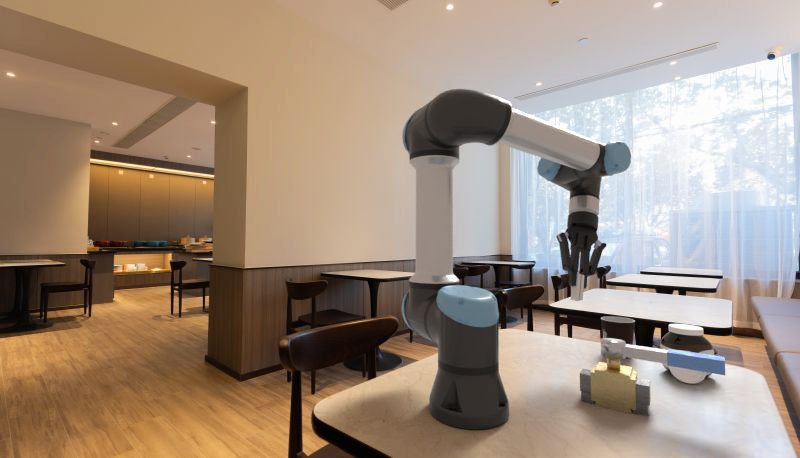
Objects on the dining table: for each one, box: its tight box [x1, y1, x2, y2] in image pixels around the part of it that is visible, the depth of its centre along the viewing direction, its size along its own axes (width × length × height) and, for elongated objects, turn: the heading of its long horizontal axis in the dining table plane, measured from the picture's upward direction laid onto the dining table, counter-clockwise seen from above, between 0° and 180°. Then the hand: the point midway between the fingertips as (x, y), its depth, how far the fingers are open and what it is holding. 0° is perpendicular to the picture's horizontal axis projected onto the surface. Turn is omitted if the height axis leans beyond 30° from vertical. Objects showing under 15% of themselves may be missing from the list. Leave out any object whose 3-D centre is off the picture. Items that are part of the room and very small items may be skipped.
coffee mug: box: [600, 316, 636, 345], centre depth 108 cm, size 12×9×10 cm
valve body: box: [579, 357, 652, 417], centre depth 75 cm, size 12×6×9 cm, turn 54°
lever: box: [600, 337, 726, 376], centre depth 70 cm, size 4×19×3 cm, turn 50°
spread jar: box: [659, 323, 715, 385], centre depth 89 cm, size 12×11×12 cm
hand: (576, 299), depth 95 cm, fingers closed
